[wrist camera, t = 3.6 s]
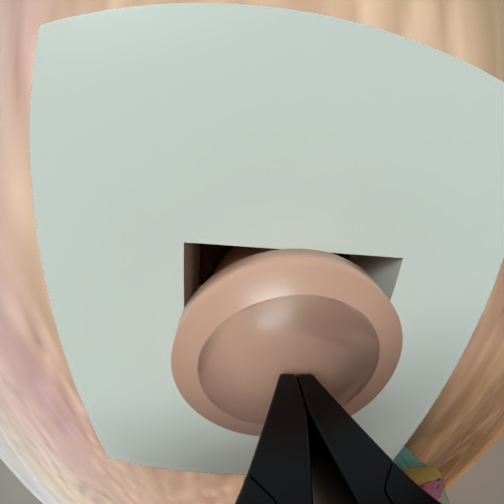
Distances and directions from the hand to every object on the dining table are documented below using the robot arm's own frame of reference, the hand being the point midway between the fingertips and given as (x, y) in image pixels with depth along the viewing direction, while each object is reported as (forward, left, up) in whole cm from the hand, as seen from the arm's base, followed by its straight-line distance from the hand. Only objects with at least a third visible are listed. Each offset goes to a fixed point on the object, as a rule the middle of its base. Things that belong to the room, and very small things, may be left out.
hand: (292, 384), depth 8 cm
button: (0, 0, -4) cm, 4 cm away
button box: (0, 0, -6) cm, 6 cm away
